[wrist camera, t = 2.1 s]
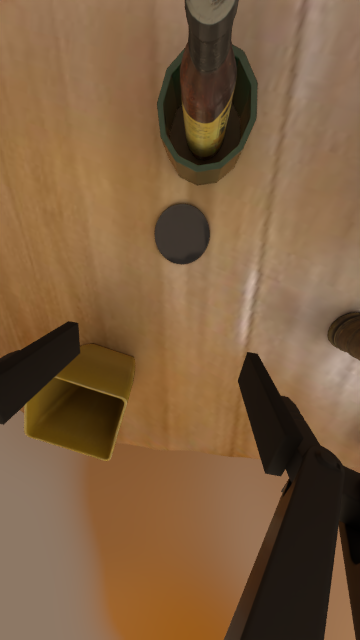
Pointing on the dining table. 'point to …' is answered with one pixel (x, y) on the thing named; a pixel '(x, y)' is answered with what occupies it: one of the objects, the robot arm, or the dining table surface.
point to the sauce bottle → (208, 74)
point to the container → (346, 334)
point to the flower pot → (83, 403)
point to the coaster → (182, 233)
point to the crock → (242, 102)
